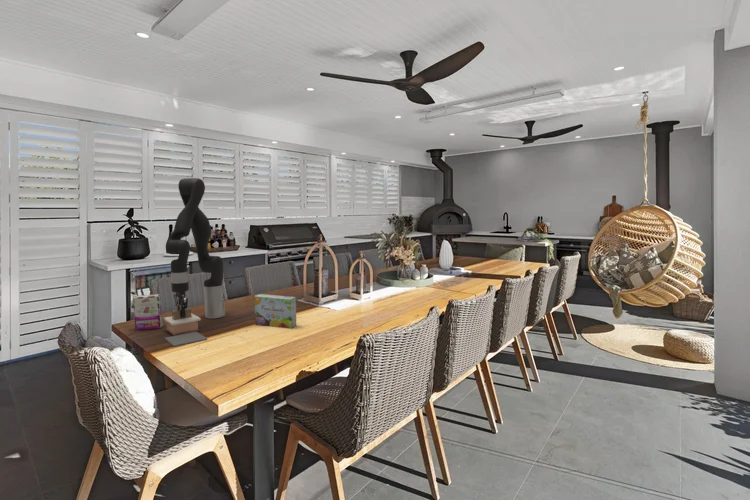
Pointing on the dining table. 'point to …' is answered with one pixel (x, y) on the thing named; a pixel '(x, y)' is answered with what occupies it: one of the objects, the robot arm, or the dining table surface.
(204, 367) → the dining table surface
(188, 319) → the lid
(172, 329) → the dish
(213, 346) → the dining table surface
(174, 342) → the mat
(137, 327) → the candy bar box
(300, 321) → the dining table surface
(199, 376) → the dining table surface
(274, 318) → the snack box
